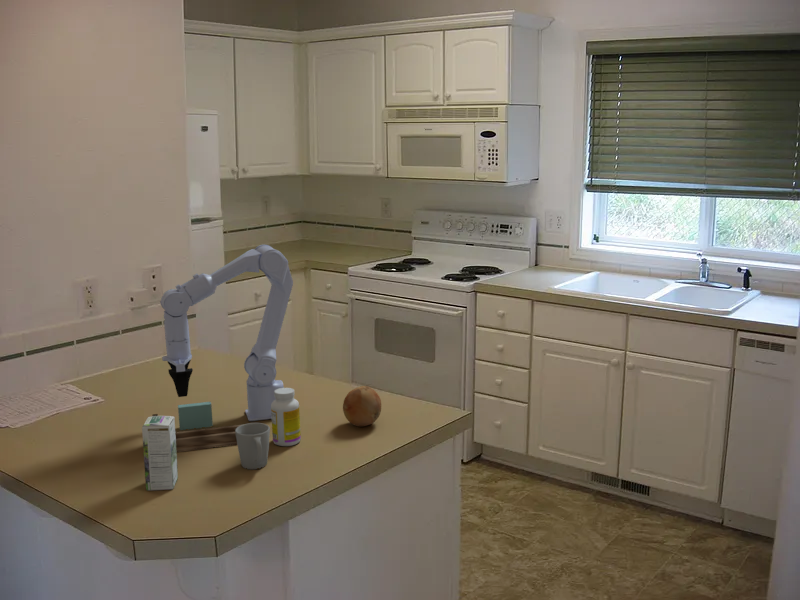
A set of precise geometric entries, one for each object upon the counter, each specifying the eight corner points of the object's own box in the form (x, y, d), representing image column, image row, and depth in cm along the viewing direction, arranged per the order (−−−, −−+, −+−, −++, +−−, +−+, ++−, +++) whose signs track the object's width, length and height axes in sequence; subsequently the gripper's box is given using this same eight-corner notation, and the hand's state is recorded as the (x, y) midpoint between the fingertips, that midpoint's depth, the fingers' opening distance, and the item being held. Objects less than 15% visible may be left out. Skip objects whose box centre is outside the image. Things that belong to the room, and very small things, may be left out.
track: (243, 431, 207) (242, 404, 206) (247, 443, 200) (246, 415, 198) (154, 442, 201) (152, 414, 200) (155, 454, 194) (152, 426, 192)
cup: (266, 455, 193) (265, 420, 191) (278, 472, 184) (276, 435, 182) (233, 461, 190) (231, 425, 188) (243, 478, 181) (241, 441, 179)
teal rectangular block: (212, 423, 213) (210, 401, 212) (212, 426, 211) (211, 404, 210) (179, 427, 211) (177, 405, 209) (180, 430, 209) (178, 407, 207)
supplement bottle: (305, 438, 203) (303, 387, 200) (293, 448, 196) (291, 396, 194) (280, 435, 205) (278, 385, 202) (267, 445, 199) (265, 393, 196)
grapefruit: (356, 415, 217) (355, 378, 215) (389, 421, 213) (388, 384, 210) (335, 427, 209) (334, 389, 207) (369, 434, 204) (368, 395, 202)
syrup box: (151, 479, 181) (146, 415, 178) (179, 478, 181) (174, 414, 178) (145, 491, 175) (140, 425, 172) (174, 489, 176) (169, 424, 173)
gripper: (160, 332, 211) (164, 384, 214) (161, 348, 198) (166, 402, 201) (188, 330, 213) (192, 381, 216) (192, 345, 200) (196, 399, 203)
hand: (182, 391), depth 209 cm, fingers open, 7 cm apart
